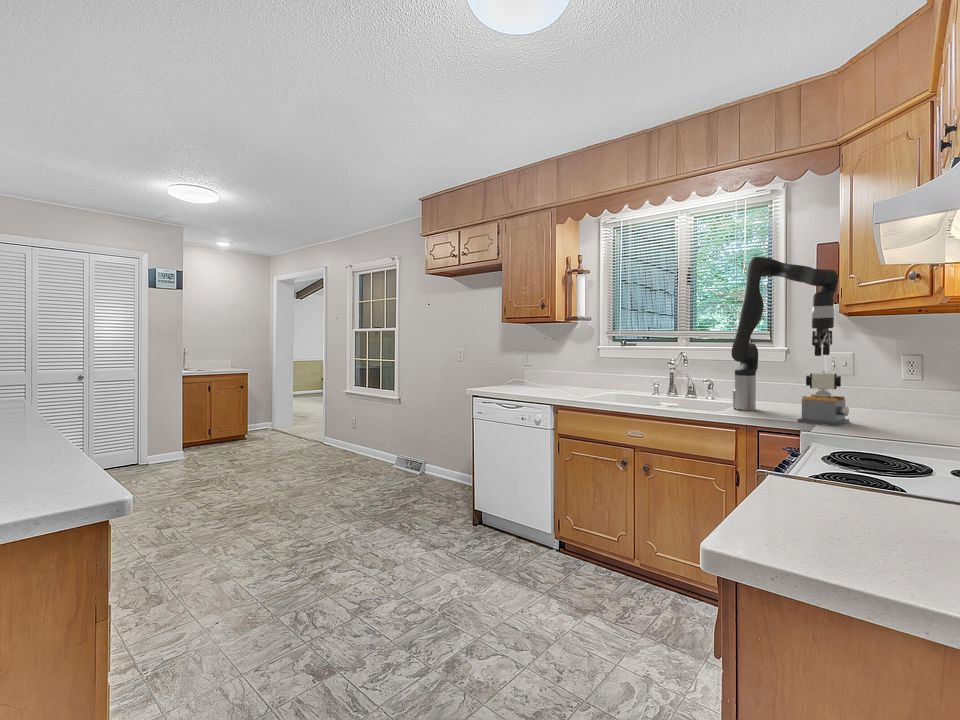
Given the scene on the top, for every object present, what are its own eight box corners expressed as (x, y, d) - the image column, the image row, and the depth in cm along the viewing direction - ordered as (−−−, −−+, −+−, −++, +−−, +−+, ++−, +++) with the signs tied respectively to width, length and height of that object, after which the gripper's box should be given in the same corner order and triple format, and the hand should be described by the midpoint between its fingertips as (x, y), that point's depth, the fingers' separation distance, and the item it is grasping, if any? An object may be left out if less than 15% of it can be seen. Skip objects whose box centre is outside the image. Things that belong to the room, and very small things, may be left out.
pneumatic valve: (840, 400, 195) (840, 371, 195) (805, 399, 202) (806, 371, 202) (840, 399, 199) (841, 370, 199) (807, 397, 207) (807, 370, 206)
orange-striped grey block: (797, 421, 203) (797, 396, 202) (810, 418, 211) (811, 393, 211) (840, 426, 190) (841, 399, 190) (853, 422, 198) (853, 396, 198)
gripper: (819, 317, 208) (818, 354, 209) (805, 317, 200) (804, 355, 201) (839, 316, 202) (839, 355, 203) (826, 316, 194) (825, 356, 195)
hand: (822, 355), depth 202 cm, fingers open, 8 cm apart
